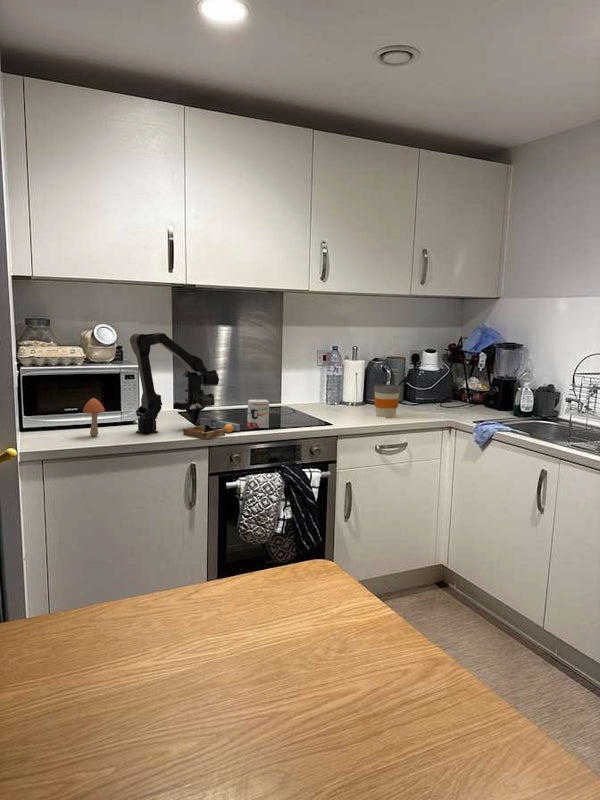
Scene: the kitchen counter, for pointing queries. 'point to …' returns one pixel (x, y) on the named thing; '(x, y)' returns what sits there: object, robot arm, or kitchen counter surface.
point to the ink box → (258, 414)
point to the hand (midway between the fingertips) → (194, 423)
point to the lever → (218, 423)
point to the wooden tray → (199, 433)
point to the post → (213, 425)
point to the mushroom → (93, 414)
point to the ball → (228, 428)
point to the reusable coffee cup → (386, 400)
